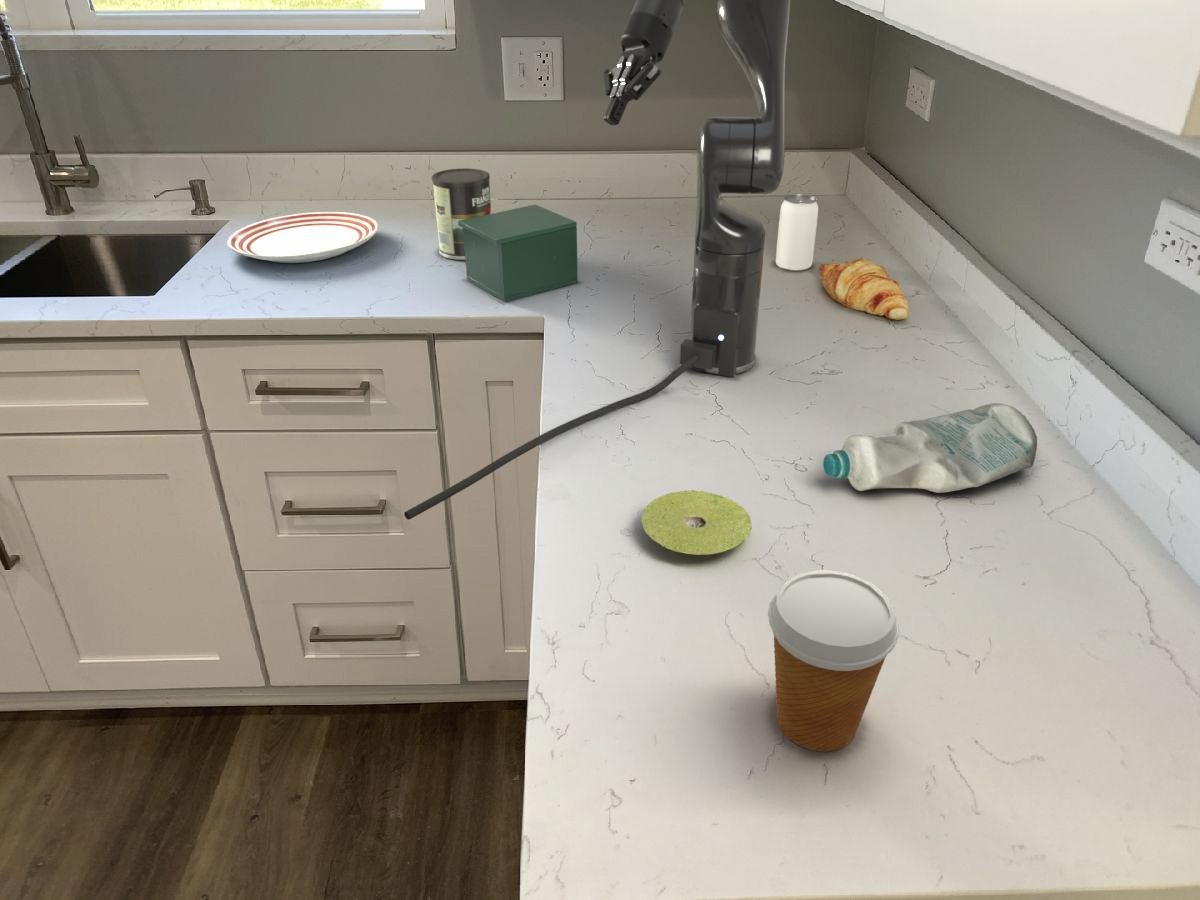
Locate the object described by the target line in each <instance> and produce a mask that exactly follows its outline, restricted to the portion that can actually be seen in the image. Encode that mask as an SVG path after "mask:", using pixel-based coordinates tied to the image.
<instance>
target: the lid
mask: <svg viewBox="0 0 1200 900" xmlns="http://www.w3.org/2000/svg"><path fill="white" fill-rule="evenodd" d="M577 223H578V222H577V221H576V220H573V219H571V218H569V217H566V216H564V215H561V214H558V213H557V212H555V211H552V210H549V209H547V208H545V207H542V206H540V205H538V204H532V205H527V206H522V207H517V208H511V209H507V210H503V211H498V212H493V213H491V214H488V215H483V216H479V217H474V218H469V219H464V220H460V221H458V225H459V226H461V227H463V228H465V229H467V230H469V231H471V232H473V233H475V234H476V235H478V236H480V237H482V238H484V239H486V240H488V241H490V242H492V243H494V244H496V245H498V244H503V243H507V242H511V241H516V240H520V239H524V238H529V237H533V236H537V235H542V234H546V233H550V232H555V231H559V230H563V229H568V228H572V227H577V225H578V224H577Z"/></svg>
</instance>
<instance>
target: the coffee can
mask: <svg viewBox="0 0 1200 900" xmlns="http://www.w3.org/2000/svg"><path fill="white" fill-rule="evenodd" d="M490 178H491V177H490V173H489V172H488V171H486V170H484V169H479V168H478V169H477V168H470V167H469V168H467V167H466V168H451V169H444V170H440V171H438V172H437V171H436V172H435V173H433V174H432V175H431V181H432V186H433V198H434V199H433V200H434V207H435V216H436V219H435V220H436V227H437V237H438V248H439V251H438V252H439V255H440V256H441V257H443V258H446V259H449V260H458V261H466V260H465V249H464V237H463V227H461V226H459V225H458V221H460V220H464V219H469V218H474V217H479V216H483V215H488V214H492V203H491V202H492V201H491V186H490Z"/></svg>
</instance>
